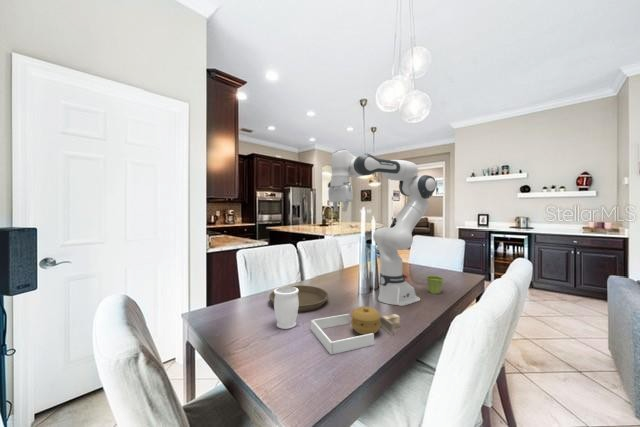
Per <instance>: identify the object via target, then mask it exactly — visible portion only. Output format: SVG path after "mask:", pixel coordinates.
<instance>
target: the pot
mask: <svg viewBox="0 0 640 427" xmlns="http://www.w3.org/2000/svg"><path fill="white" fill-rule="evenodd" d="M381 315H382V314H381V313H380V312H379V311H378V310H377V309H376V308H374V307H370V306H359V307H356V308H354V310H352V312H351V315H350V316H351V318H352V319H351V321H350V322H351V327H352V328H353V329H354V331H355V332H356V333H357V334H359V335H366V334H370V333H373V334H374V335H375V334H377V332H379V330H380V328H381V327H380V326H381V323H380V321H379V320H380V319H381Z"/></svg>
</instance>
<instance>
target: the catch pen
mask: <svg viewBox="0 0 640 427" xmlns="http://www.w3.org/2000/svg"><path fill="white" fill-rule="evenodd" d="M310 322H311V323H310V330H311V331H312V333H313V334H314V336H315V337H316V338H317V339H318V341H319V342H320V343H321V345H322V346H323V347H324V348H325V350H326V351H327V352H328V353H329V354H330V355H337V354H340V353H341V354H342V353H345V352H348V351H352V350H357V349H362V348H367V347H371V346H374V345H375V334H373V333H370V334H366V335H363V334H360V335H357V336H352V337H348V338H342V339H337V340H331V339H330V338H329V337H328V335H327V334H326V333H325V332H324V331H323V330H324V329H327V328H333V327H339V326H344V325H349V324H350V313H345V314H340V315H333V316H328V317H321V318H316V319H311V320H310Z"/></svg>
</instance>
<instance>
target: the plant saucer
mask: <svg viewBox="0 0 640 427" xmlns="http://www.w3.org/2000/svg"><path fill="white" fill-rule="evenodd" d="M287 287H296V288H298V293H297V294H298V300H299V307H298V313H299V312H300V313H301V312H309V311H312V310H317V309H319V308H320V307H322V306H323V305H324V304H325V302H327V300H328V298H329V293H328V291H326V290H325V289H323V288H321V287H316V286H312V285H303V284H302V285H290V286H289V285H288V286H287ZM268 298H269V301H270V302H271V303H272V305H274V298H275V294H274V290H273V291H272V292H270V293H269V296H268Z"/></svg>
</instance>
